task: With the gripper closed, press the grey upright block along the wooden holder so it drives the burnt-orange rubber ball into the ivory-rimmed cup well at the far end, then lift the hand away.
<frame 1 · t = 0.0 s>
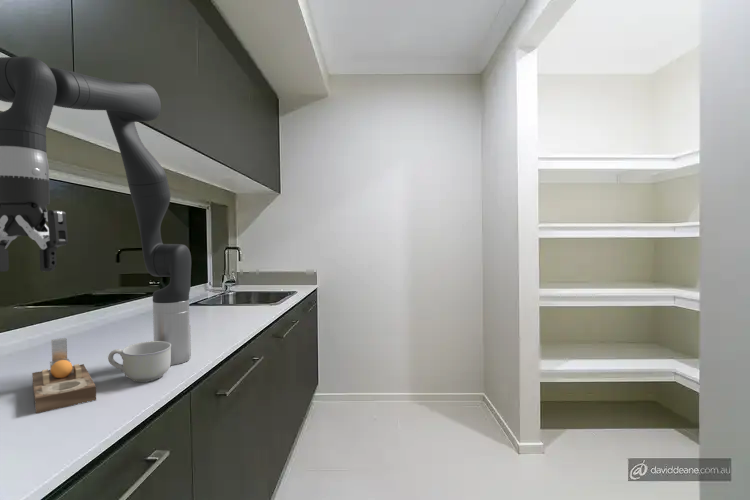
hand: (24, 271, 70), 29 cm above the countertop, tool pointing down, fingers open, 8 cm apart
grey upright block: (59, 356, 97), point 7 cm above the countertop, slide at 0.0 cm
wooden holder: (63, 392, 92), on the countertop
teacup: (141, 378, 102), on the countertop
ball: (61, 369, 94), point 5 cm above the countertop, touching wooden holder
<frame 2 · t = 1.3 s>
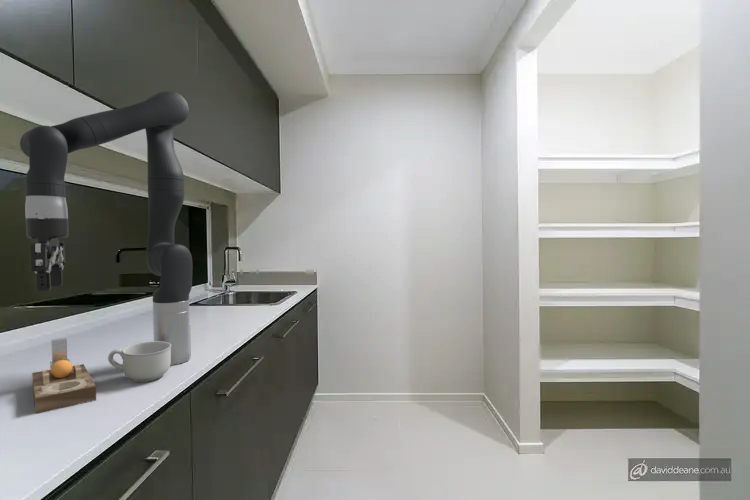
hand: (50, 288, 93), 24 cm above the countertop, tool pointing down, fingers open, 8 cm apart
nothing on the countertop moved.
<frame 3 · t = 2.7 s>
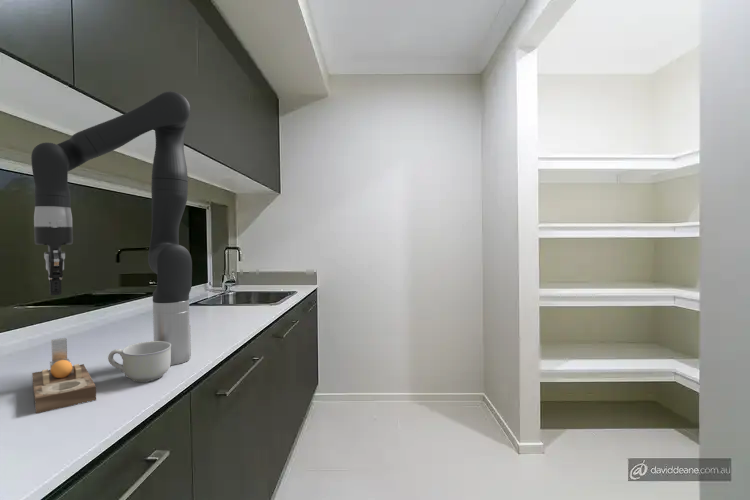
hand: (55, 294, 102), 21 cm above the countertop, tool pointing down, fingers closed
nothing on the countertop moved.
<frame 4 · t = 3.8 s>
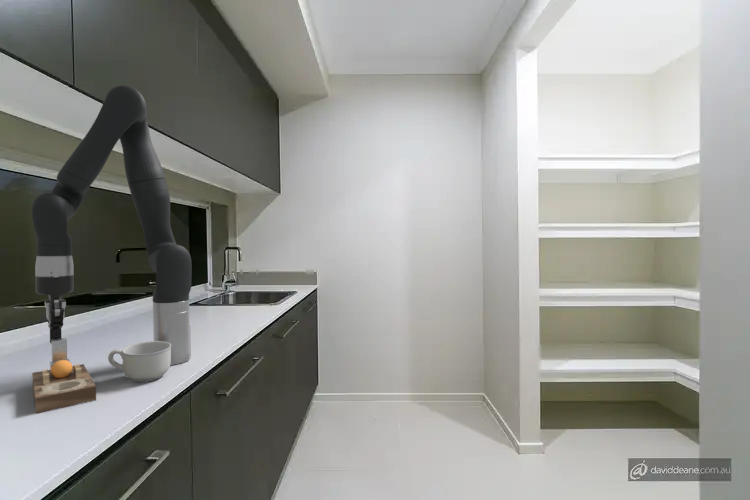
hand: (55, 342, 102), 9 cm above the countertop, tool pointing down, fingers closed
nothing on the countertop moved.
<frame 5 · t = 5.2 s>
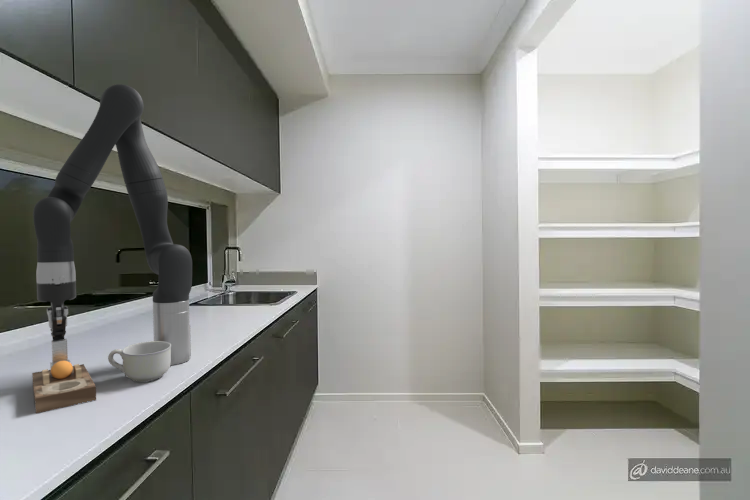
hand: (58, 351, 100), 7 cm above the countertop, tool pointing down, fingers closed
grey upright block: (60, 357, 96), point 7 cm above the countertop, slide at 1.1 cm, touching gripper
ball: (61, 369, 93), point 5 cm above the countertop, tilted 19°, touching wooden holder
everything else where it was.
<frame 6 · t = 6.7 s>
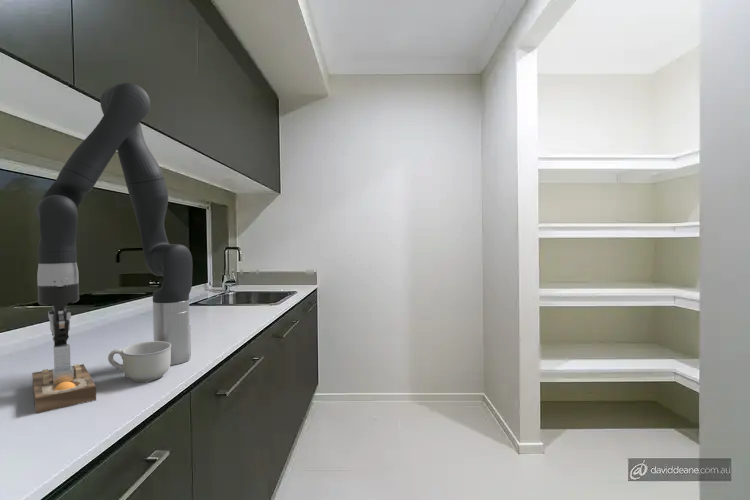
hand: (60, 356, 95), 7 cm above the countertop, tool pointing down, fingers closed
grey upright block: (62, 363, 91), point 7 cm above the countertop, slide at 7.5 cm, touching gripper
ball: (65, 391, 88), point 2 cm above the countertop, tilted 107°
everything else where it was.
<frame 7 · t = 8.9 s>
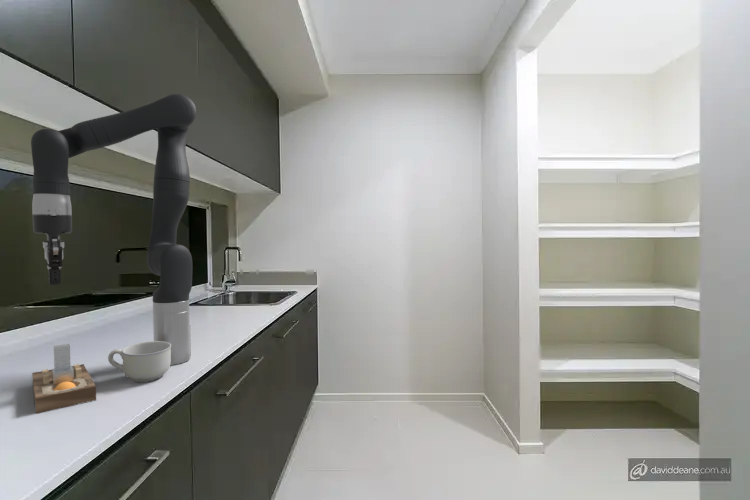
hand: (55, 284, 100), 24 cm above the countertop, tool pointing down, fingers closed
grey upright block: (62, 363, 91), point 7 cm above the countertop, slide at 7.5 cm
everything else where it was.
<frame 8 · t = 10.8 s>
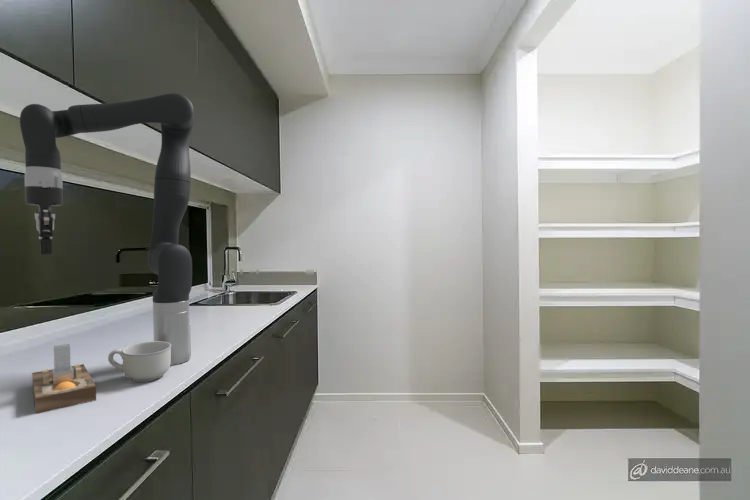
hand: (46, 254, 105), 31 cm above the countertop, tool pointing down, fingers closed
nothing on the countertop moved.
at the end: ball 0.6 cm from the target spot on the wooden holder, point 2.0 cm above the wooden holder's base; grey upright block slide at 7.5 cm; teacup moved 0.3 cm from its start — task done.
